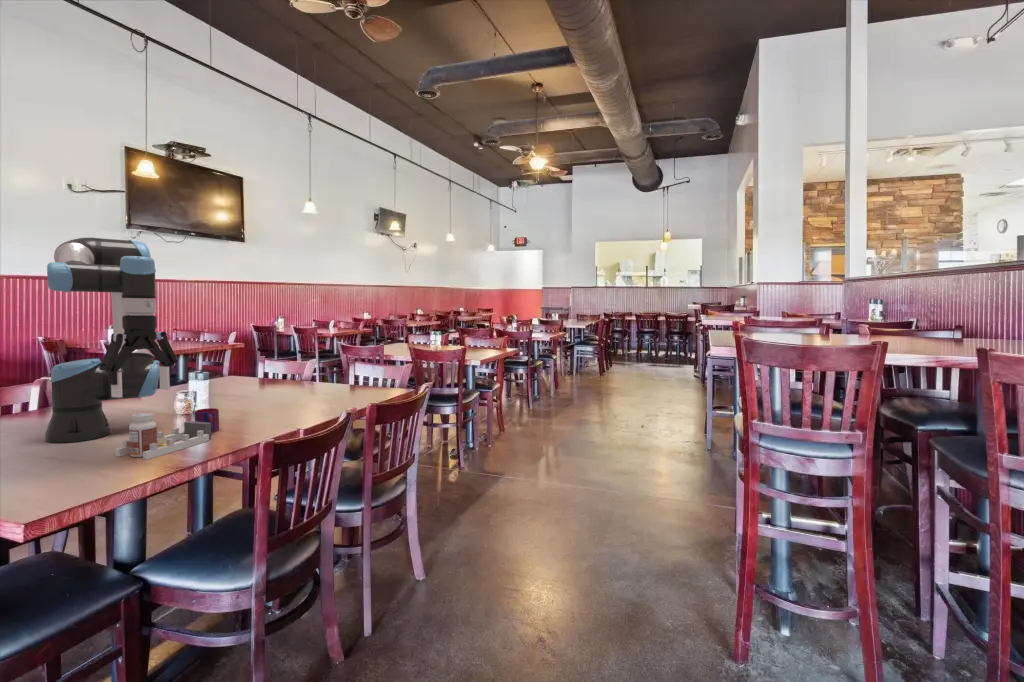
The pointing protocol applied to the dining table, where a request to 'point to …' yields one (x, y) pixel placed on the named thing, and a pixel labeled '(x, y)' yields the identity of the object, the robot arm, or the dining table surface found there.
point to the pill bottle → (142, 433)
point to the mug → (208, 417)
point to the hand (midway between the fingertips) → (142, 393)
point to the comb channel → (190, 437)
